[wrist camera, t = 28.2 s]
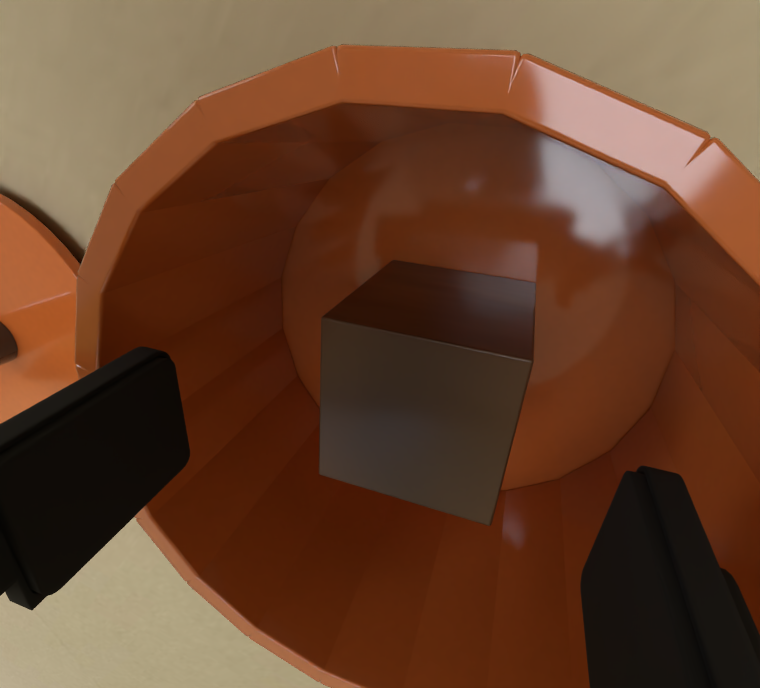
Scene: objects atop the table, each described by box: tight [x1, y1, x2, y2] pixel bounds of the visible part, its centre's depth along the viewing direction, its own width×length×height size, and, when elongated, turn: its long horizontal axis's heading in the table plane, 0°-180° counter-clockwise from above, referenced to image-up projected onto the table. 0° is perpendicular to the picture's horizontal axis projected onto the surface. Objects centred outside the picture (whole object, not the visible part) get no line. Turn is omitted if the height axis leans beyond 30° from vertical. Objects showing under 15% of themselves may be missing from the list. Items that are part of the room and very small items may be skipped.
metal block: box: [319, 260, 536, 526], centre depth 14 cm, size 5×5×6 cm
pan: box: [75, 44, 760, 688], centre depth 13 cm, size 15×15×9 cm
